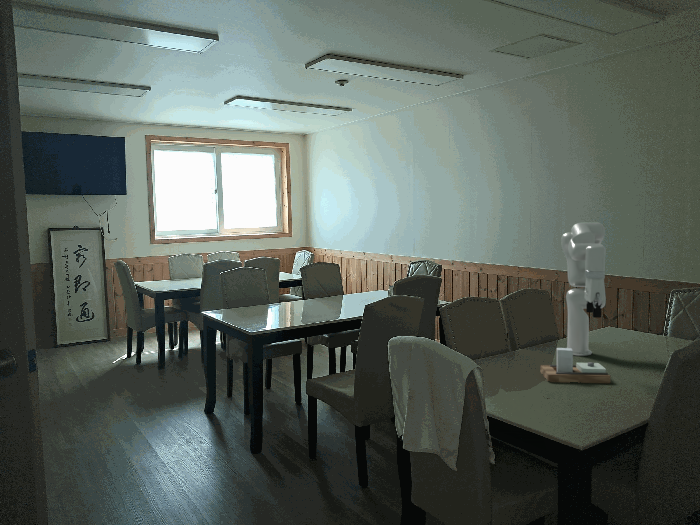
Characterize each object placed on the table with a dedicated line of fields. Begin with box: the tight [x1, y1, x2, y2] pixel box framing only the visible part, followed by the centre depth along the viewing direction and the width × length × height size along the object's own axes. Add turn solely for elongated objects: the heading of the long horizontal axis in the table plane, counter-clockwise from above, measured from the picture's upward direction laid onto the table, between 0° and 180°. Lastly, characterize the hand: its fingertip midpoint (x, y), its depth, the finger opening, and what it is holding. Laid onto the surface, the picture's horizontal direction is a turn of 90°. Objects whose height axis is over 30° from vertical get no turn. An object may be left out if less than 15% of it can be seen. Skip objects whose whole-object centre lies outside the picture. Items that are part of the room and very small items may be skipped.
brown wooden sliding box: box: [539, 364, 612, 384], centre depth 222 cm, size 14×24×4 cm, turn 83°
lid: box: [575, 361, 607, 373], centre depth 221 cm, size 9×9×3 cm
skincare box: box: [556, 347, 574, 372], centre depth 222 cm, size 6×4×12 cm
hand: (593, 314), depth 226 cm, fingers open, 9 cm apart
